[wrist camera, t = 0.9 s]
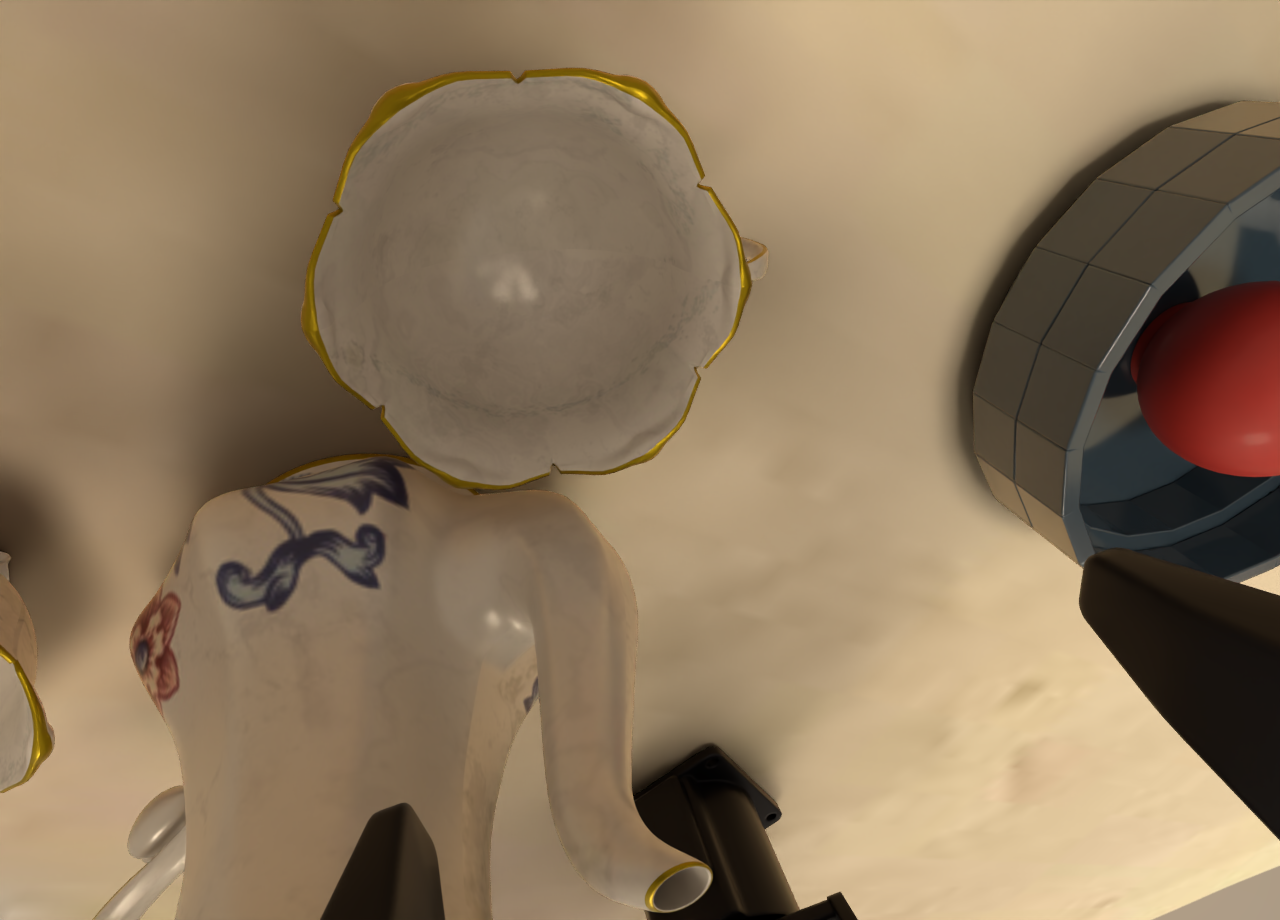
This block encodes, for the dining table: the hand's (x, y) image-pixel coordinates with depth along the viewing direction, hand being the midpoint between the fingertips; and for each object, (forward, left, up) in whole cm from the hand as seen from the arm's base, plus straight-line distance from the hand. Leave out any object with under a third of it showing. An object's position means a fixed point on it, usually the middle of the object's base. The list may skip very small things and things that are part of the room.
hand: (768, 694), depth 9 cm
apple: (-13, -16, -13) cm, 24 cm away
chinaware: (+1, +9, -14) cm, 16 cm away
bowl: (-13, -16, -14) cm, 25 cm away
